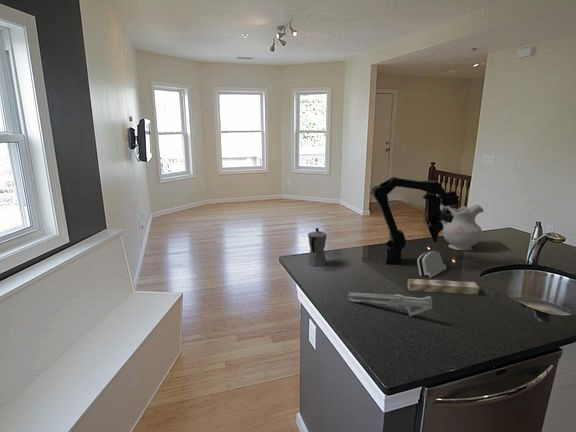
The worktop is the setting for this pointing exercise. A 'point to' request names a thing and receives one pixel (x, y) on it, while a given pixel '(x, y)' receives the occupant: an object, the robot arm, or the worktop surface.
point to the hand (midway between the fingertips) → (434, 238)
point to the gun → (395, 301)
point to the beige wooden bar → (443, 286)
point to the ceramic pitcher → (462, 227)
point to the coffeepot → (317, 248)
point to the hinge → (430, 264)
